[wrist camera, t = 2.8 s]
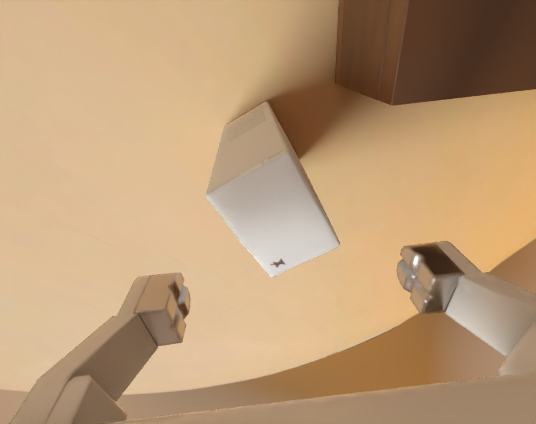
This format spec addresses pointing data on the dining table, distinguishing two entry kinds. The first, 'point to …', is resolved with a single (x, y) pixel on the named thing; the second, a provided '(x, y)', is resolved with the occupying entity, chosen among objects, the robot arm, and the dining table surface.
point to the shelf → (435, 48)
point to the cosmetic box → (268, 194)
